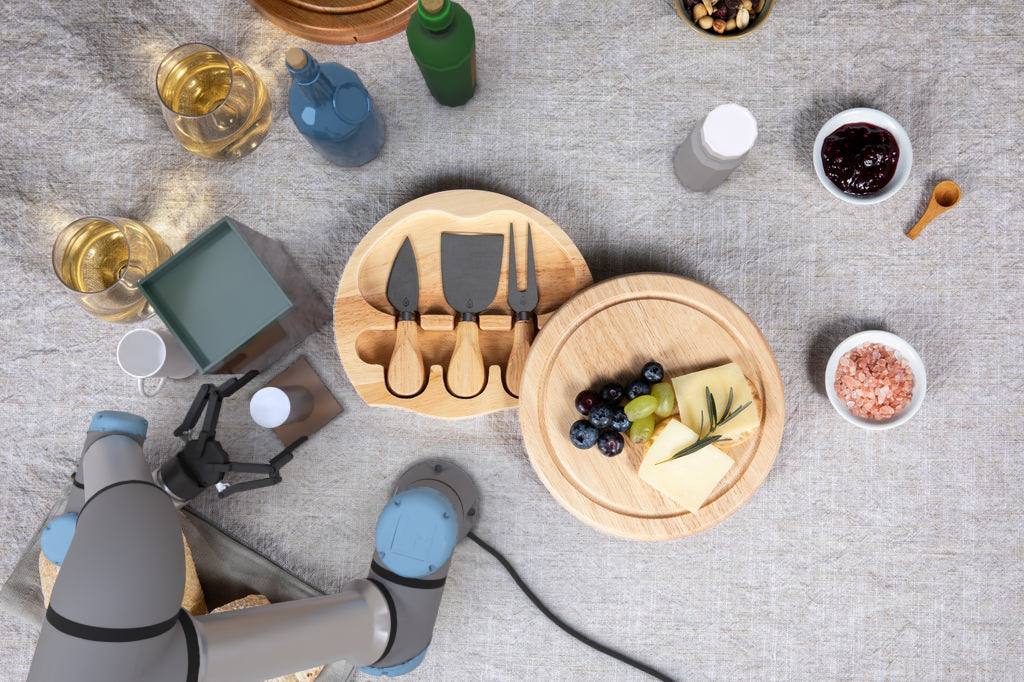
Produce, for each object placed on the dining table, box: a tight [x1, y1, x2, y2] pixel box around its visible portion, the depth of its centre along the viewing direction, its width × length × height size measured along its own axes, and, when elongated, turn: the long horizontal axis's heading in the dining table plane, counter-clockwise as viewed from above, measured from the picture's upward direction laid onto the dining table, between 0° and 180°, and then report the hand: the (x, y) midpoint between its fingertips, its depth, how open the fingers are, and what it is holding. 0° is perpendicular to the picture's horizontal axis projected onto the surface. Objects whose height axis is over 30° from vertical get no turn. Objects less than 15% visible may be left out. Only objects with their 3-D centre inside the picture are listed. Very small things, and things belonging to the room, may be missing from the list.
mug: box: [116, 327, 198, 399], centre depth 113 cm, size 12×8×12 cm
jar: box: [673, 102, 759, 192], centre depth 110 cm, size 10×10×18 cm
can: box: [249, 385, 314, 429], centre depth 112 cm, size 7×7×12 cm
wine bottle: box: [284, 47, 386, 168], centre depth 106 cm, size 14×13×30 cm
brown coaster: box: [249, 356, 345, 448], centre depth 118 cm, size 12×12×1 cm
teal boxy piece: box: [134, 215, 334, 376], centre depth 109 cm, size 17×17×21 cm
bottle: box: [405, 0, 478, 108], centre depth 107 cm, size 11×11×28 cm
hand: (280, 404), depth 109 cm, fingers open, 13 cm apart
